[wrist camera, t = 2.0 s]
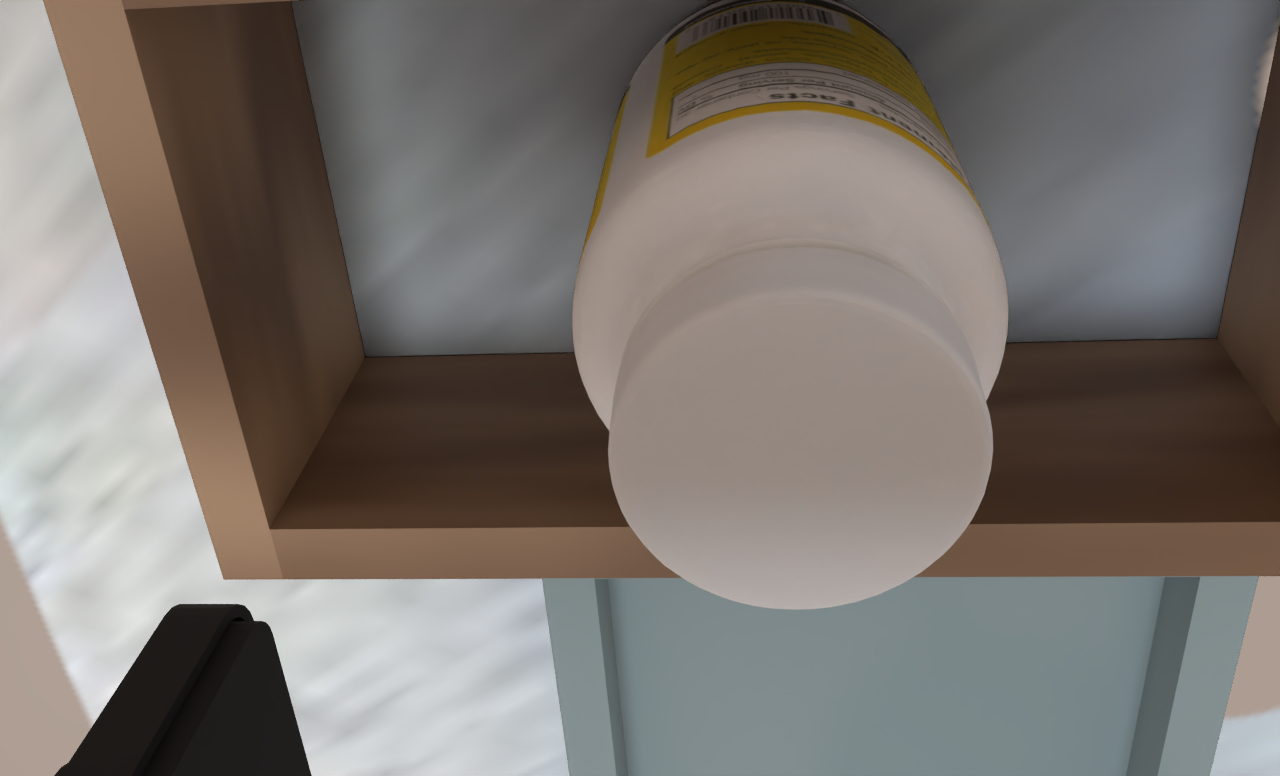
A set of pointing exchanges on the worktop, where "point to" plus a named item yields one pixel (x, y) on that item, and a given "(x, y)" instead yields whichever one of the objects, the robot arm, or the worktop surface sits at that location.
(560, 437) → the holder
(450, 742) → the worktop surface
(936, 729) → the tray
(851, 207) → the supplement bottle
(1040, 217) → the worktop surface
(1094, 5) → the worktop surface
